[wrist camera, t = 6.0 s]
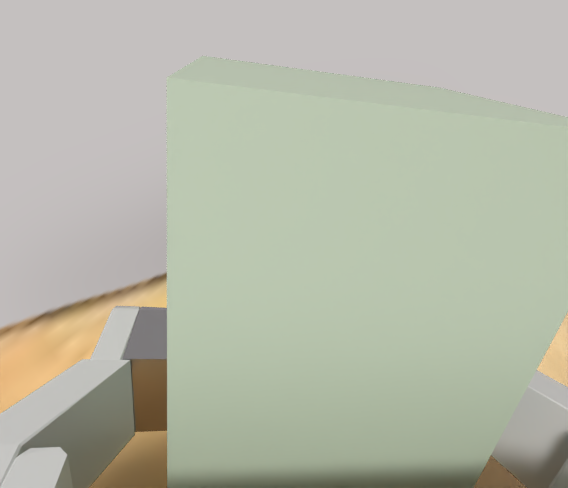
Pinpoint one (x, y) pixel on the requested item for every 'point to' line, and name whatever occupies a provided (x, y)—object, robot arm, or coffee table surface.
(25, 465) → the robot arm
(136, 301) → the coffee table surface
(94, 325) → the coffee table surface
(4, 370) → the coffee table surface
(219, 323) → the sage block
